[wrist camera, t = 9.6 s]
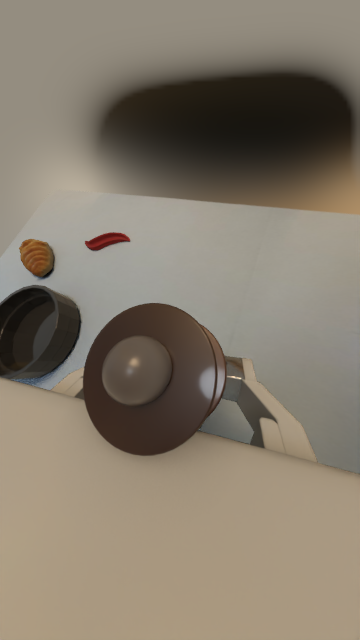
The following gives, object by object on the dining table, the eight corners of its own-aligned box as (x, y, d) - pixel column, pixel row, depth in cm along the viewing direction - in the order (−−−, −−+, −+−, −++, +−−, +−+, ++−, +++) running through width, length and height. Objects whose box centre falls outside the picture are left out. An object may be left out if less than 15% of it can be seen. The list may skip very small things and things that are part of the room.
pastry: (61, 267, 33) (43, 255, 30) (37, 284, 33) (16, 275, 30) (51, 244, 37) (34, 231, 33) (29, 260, 37) (10, 248, 33)
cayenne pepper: (81, 249, 34) (74, 242, 32) (89, 233, 35) (83, 226, 33) (125, 253, 31) (119, 246, 29) (132, 235, 32) (127, 228, 30)
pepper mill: (195, 334, 17) (143, 235, 4) (228, 369, 16) (322, 386, 2) (163, 364, 17) (-1, 359, 4) (193, 403, 15) (71, 640, 2)
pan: (62, 282, 32) (40, 269, 28) (95, 335, 26) (73, 329, 22) (3, 332, 31) (-30, 326, 27) (22, 398, 25) (-15, 404, 21)
